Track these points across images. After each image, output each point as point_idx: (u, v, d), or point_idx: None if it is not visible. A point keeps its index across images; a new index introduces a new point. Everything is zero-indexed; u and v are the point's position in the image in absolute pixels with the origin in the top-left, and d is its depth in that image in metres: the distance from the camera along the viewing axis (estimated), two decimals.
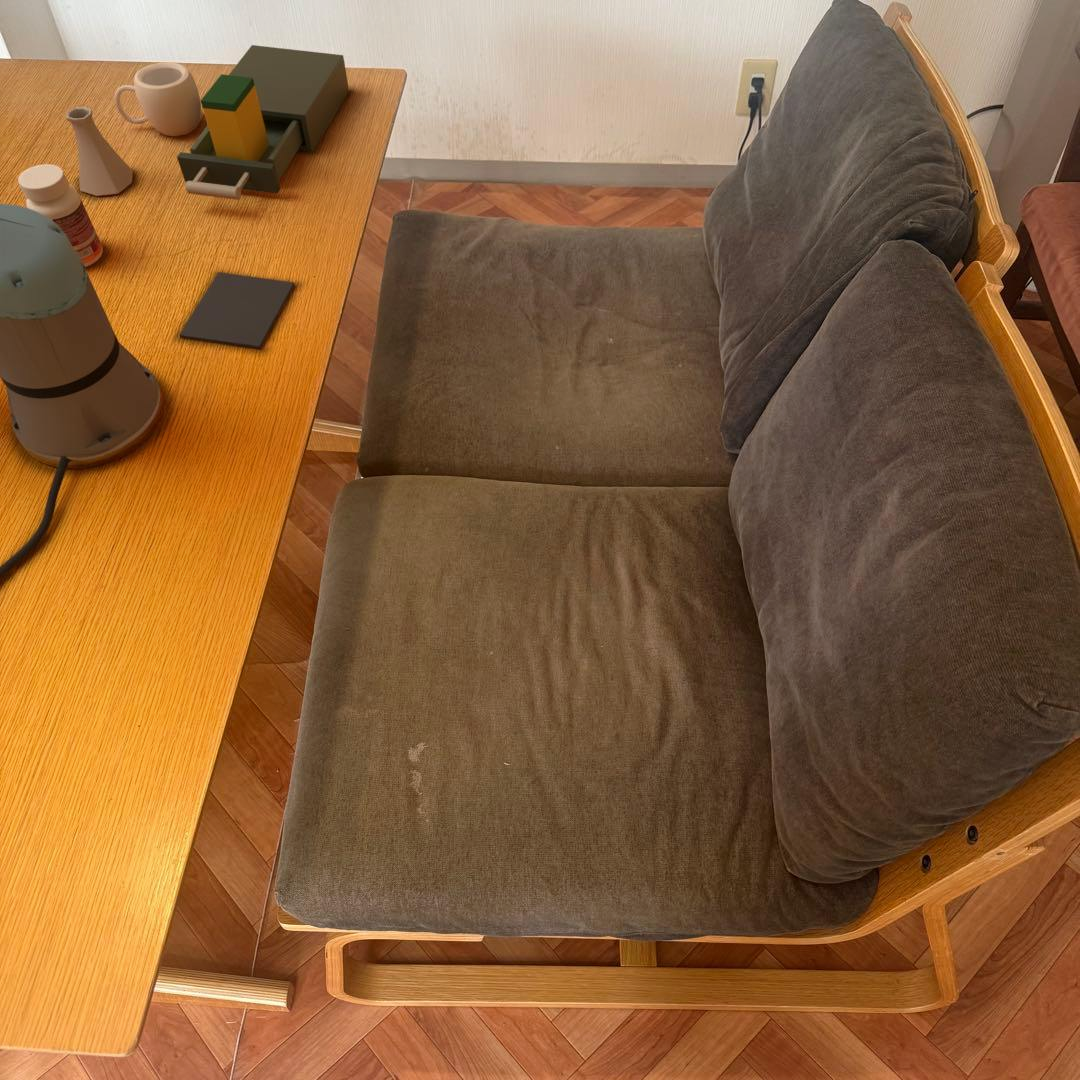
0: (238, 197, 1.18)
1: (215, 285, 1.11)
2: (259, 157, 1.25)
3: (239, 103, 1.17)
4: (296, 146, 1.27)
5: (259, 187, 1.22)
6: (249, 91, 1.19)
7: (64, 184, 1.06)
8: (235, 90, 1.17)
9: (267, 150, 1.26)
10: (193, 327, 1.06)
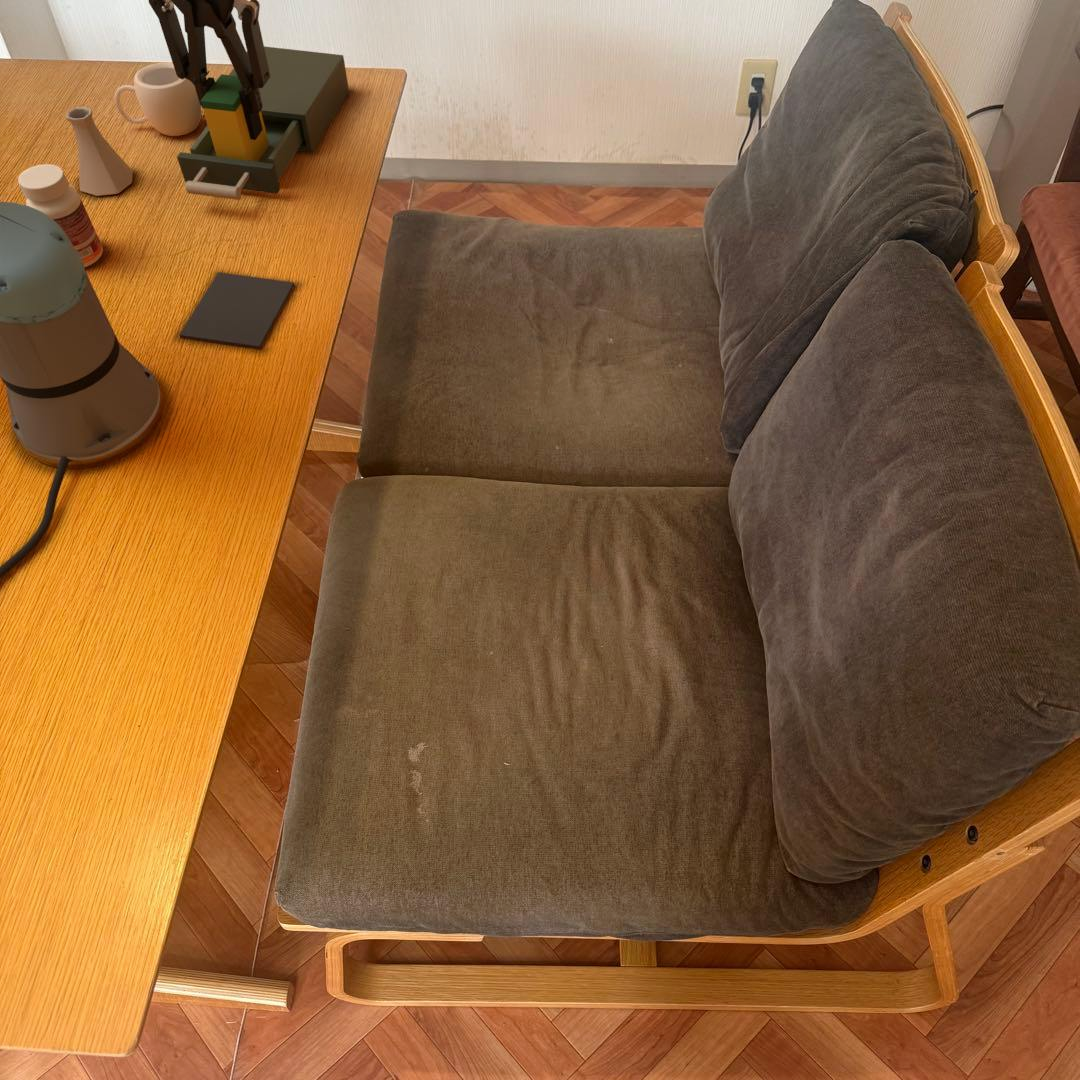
0: (238, 197, 1.18)
1: (215, 285, 1.11)
2: (259, 157, 1.25)
3: (239, 103, 1.17)
4: (296, 146, 1.27)
5: (259, 187, 1.22)
6: None
7: (64, 184, 1.06)
8: (234, 90, 1.17)
9: (267, 150, 1.26)
10: (193, 327, 1.06)
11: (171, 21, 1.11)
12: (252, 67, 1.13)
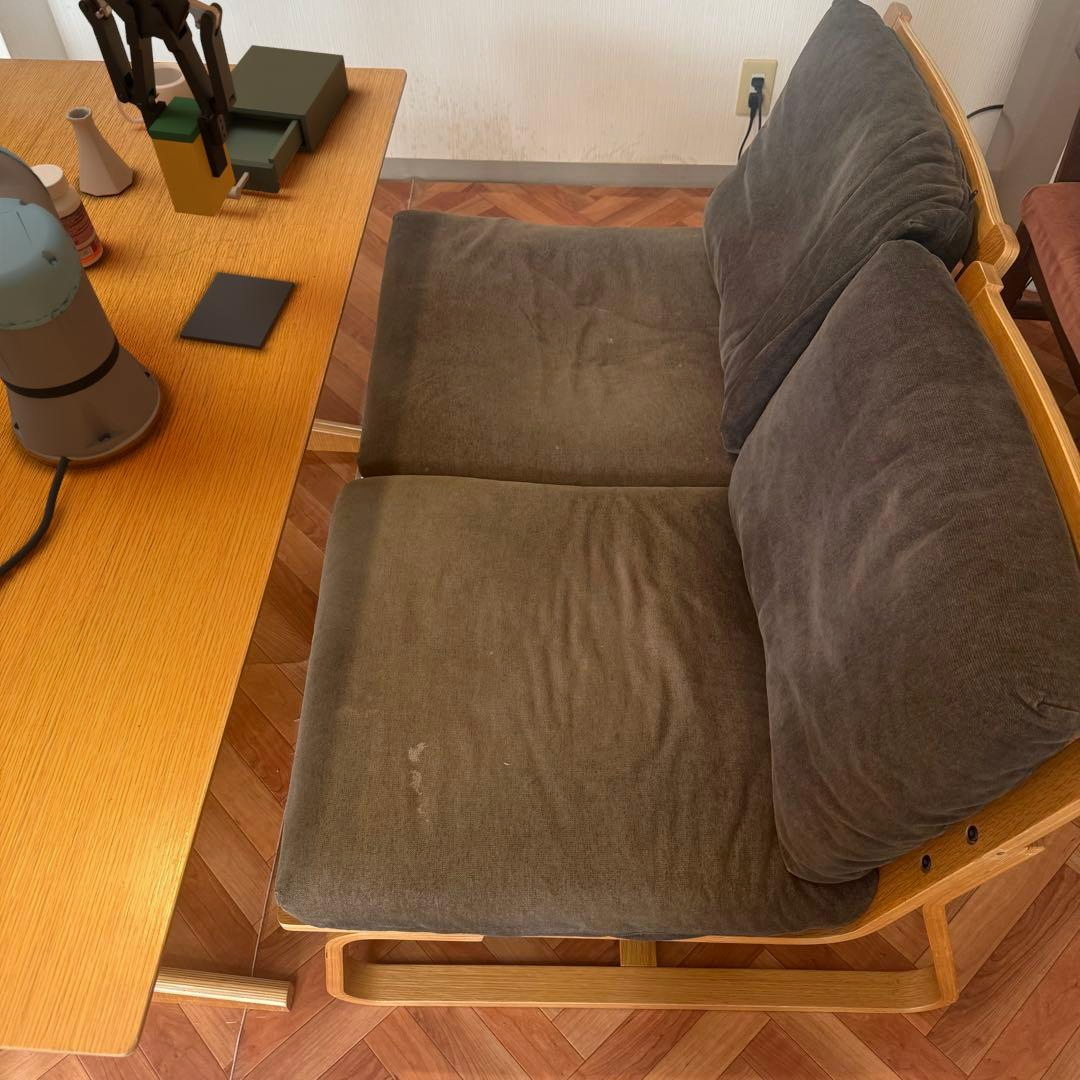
0: (238, 197, 1.18)
1: (215, 285, 1.11)
2: (224, 198, 1.01)
3: (198, 133, 0.93)
4: (296, 146, 1.27)
5: (259, 187, 1.22)
6: None
7: (64, 184, 1.06)
8: (192, 116, 0.94)
9: (267, 150, 1.26)
10: (193, 327, 1.06)
11: (108, 30, 0.87)
12: (214, 88, 0.90)
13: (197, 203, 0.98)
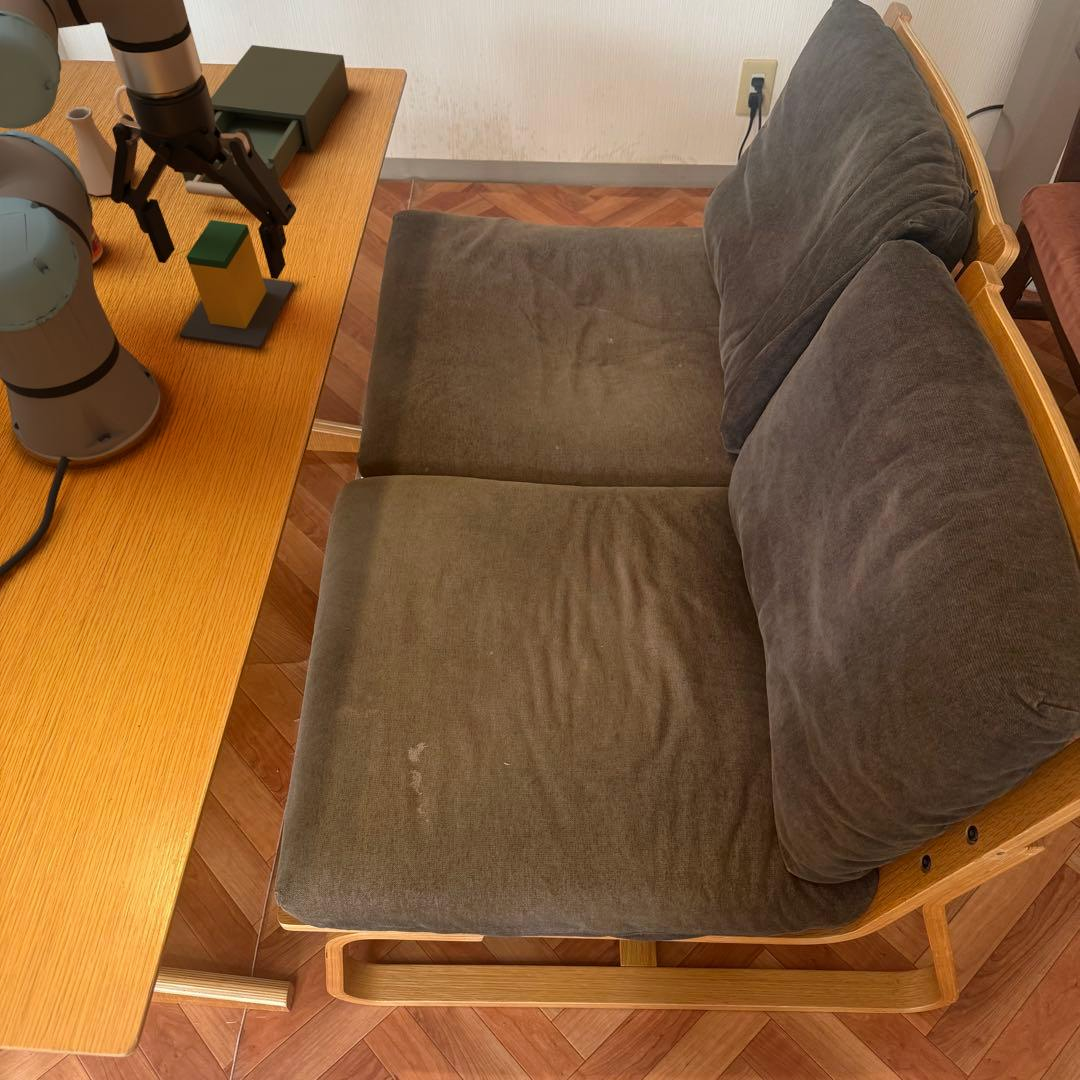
0: None
1: None
2: (255, 309, 1.08)
3: (231, 258, 1.00)
4: (296, 146, 1.27)
5: None
6: (243, 240, 1.03)
7: None
8: (226, 241, 1.01)
9: (267, 150, 1.26)
10: (193, 327, 1.06)
11: (130, 152, 0.93)
12: (268, 205, 0.94)
13: (230, 317, 1.05)
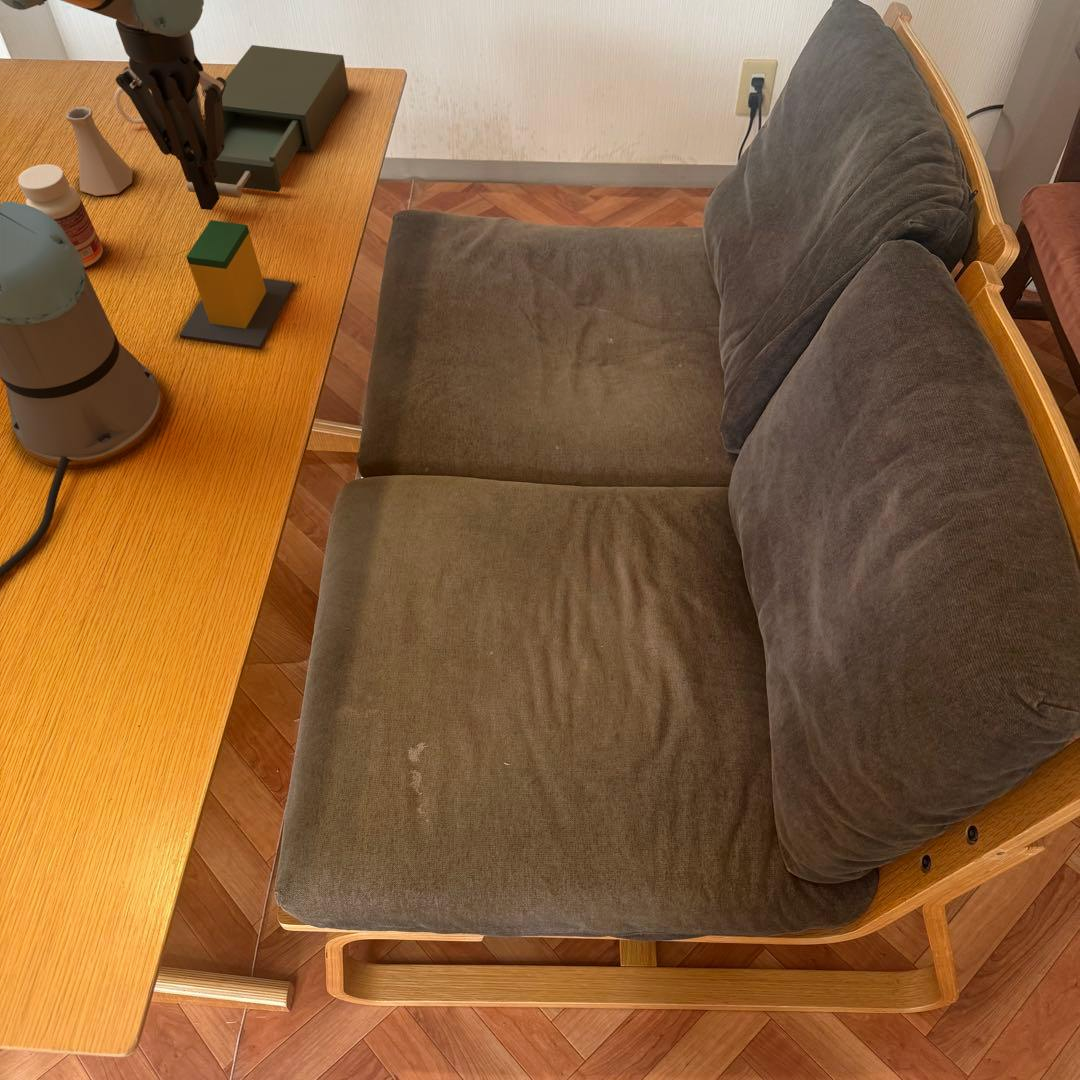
0: (239, 195, 1.18)
1: None
2: (255, 309, 1.08)
3: (231, 258, 1.00)
4: (297, 145, 1.27)
5: (260, 185, 1.22)
6: (243, 240, 1.03)
7: (64, 184, 1.06)
8: (226, 241, 1.01)
9: (268, 149, 1.26)
10: (193, 327, 1.06)
11: (142, 97, 1.06)
12: (208, 140, 1.09)
13: (230, 317, 1.05)
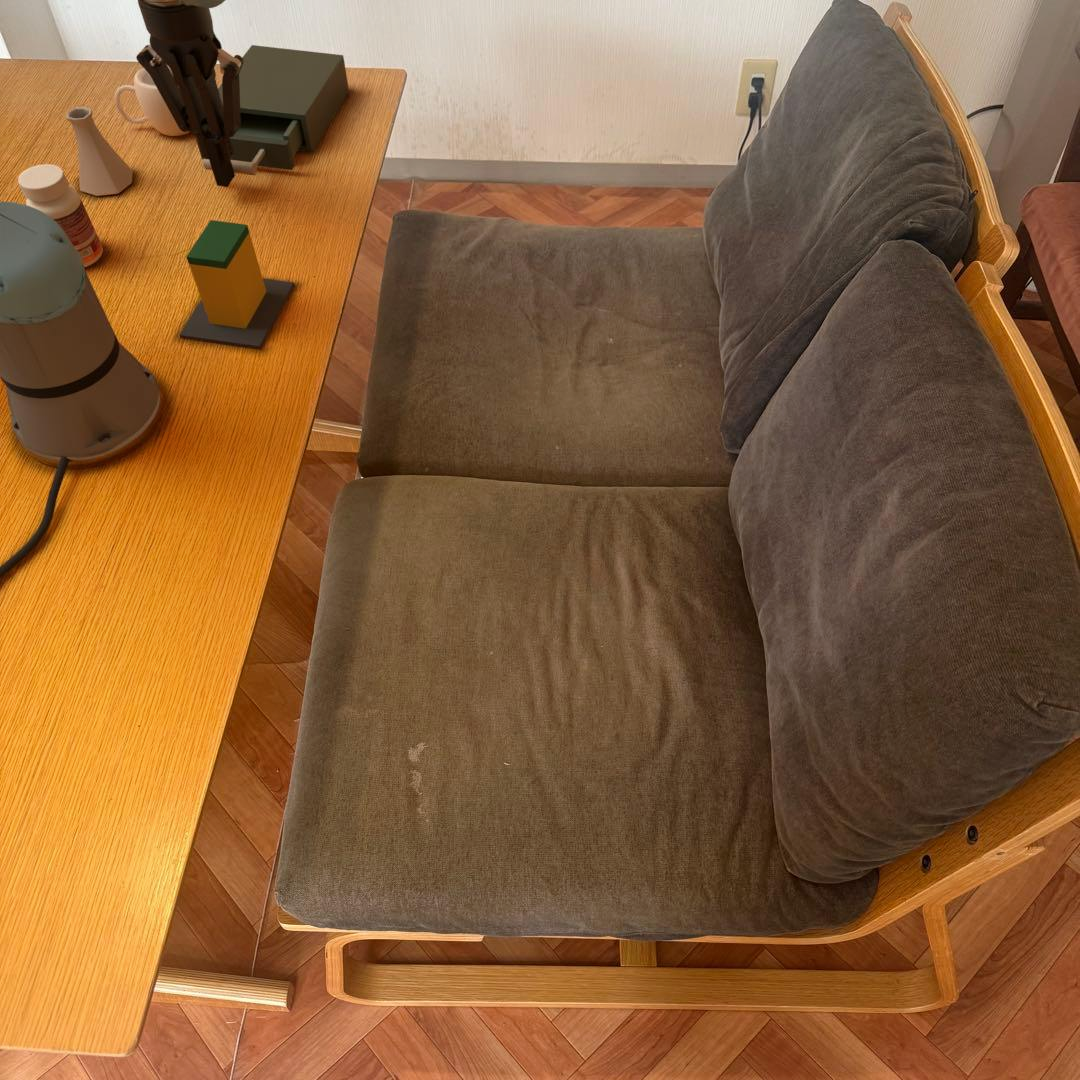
0: (254, 173, 1.21)
1: None
2: (255, 309, 1.08)
3: (231, 258, 1.00)
4: None
5: (274, 164, 1.25)
6: (243, 240, 1.03)
7: (64, 184, 1.06)
8: (226, 241, 1.01)
9: (281, 128, 1.30)
10: (193, 327, 1.06)
11: (162, 74, 1.09)
12: (225, 117, 1.12)
13: (230, 317, 1.05)
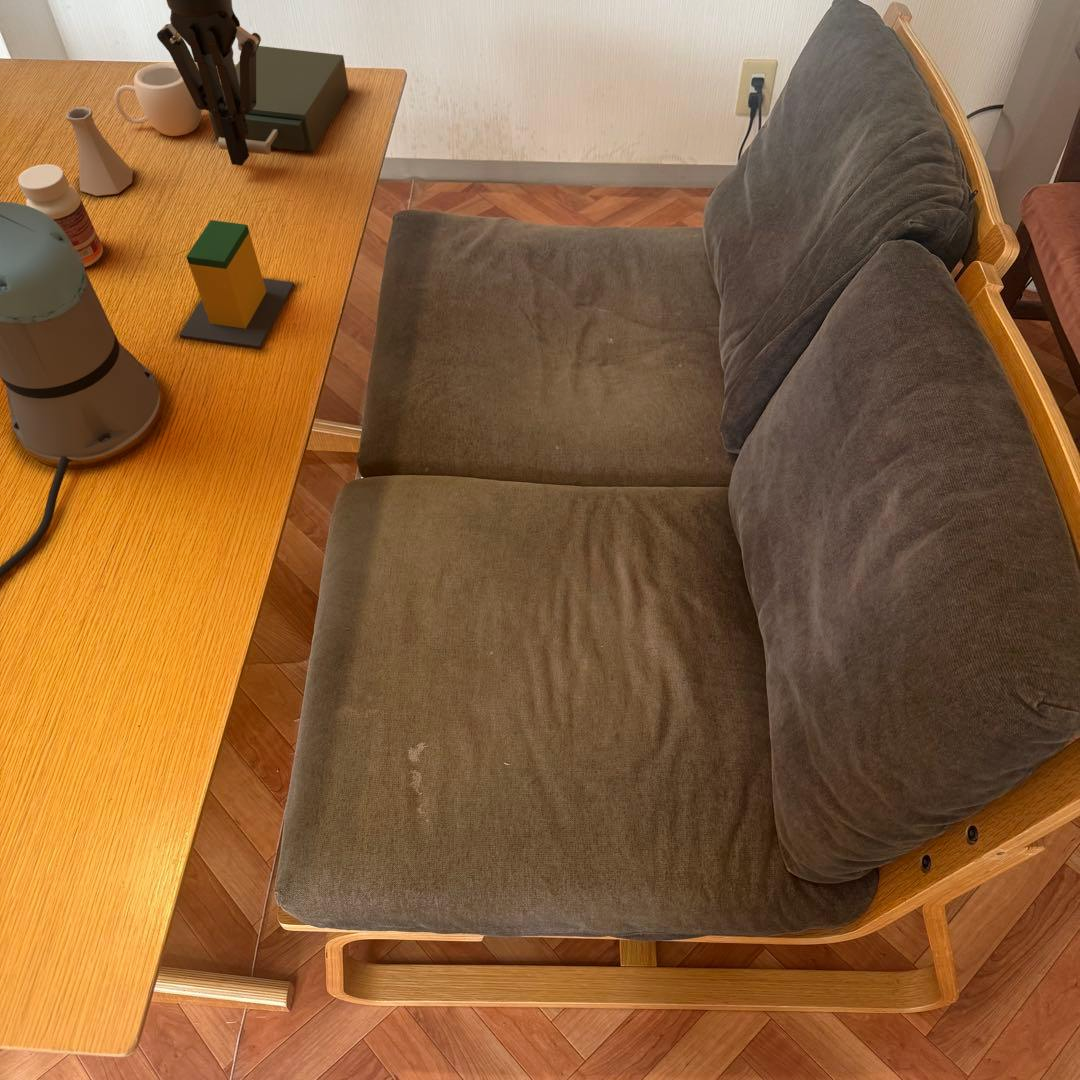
0: (268, 152, 1.24)
1: None
2: (255, 309, 1.08)
3: (231, 258, 1.00)
4: None
5: (287, 144, 1.28)
6: (243, 240, 1.03)
7: (64, 184, 1.06)
8: (226, 241, 1.01)
9: None
10: (193, 327, 1.06)
11: (181, 52, 1.13)
12: (241, 94, 1.15)
13: (230, 317, 1.05)
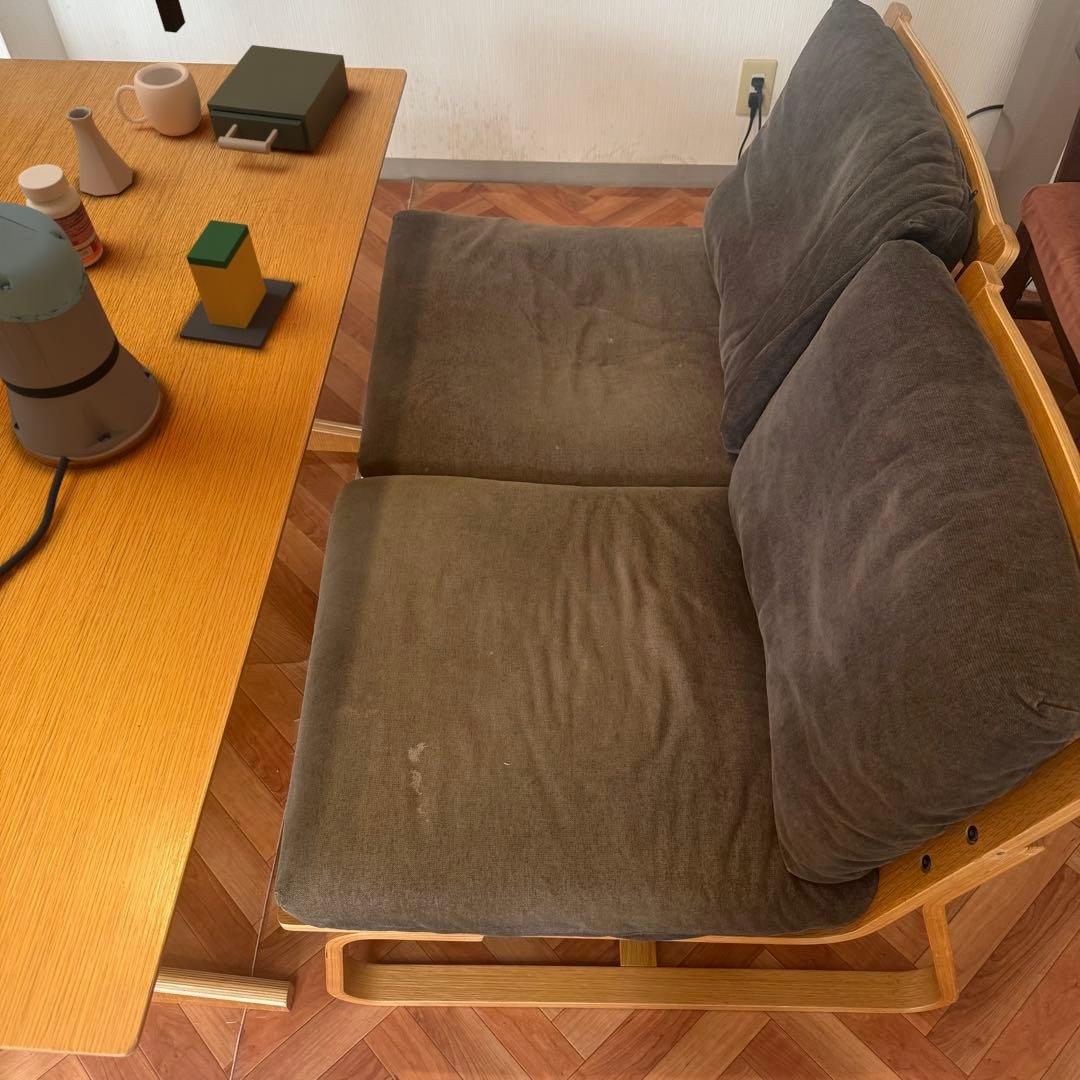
0: (268, 152, 1.24)
1: None
2: (255, 309, 1.08)
3: (231, 258, 1.00)
4: None
5: (287, 144, 1.28)
6: (243, 240, 1.03)
7: (64, 184, 1.06)
8: (226, 241, 1.01)
9: None
10: (193, 327, 1.06)
11: None
12: None
13: (230, 317, 1.05)
